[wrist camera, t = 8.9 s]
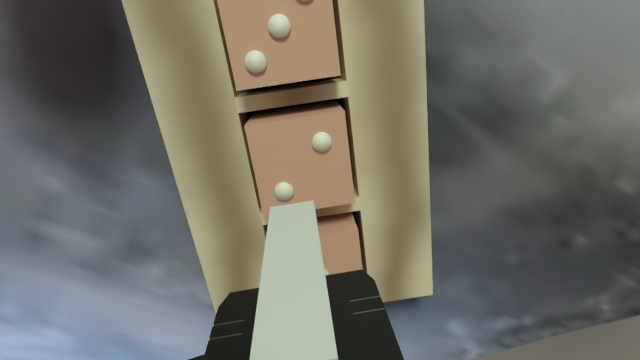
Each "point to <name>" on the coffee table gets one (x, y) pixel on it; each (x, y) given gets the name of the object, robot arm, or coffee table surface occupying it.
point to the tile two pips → (301, 156)
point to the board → (231, 106)
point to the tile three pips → (279, 41)
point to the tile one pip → (339, 243)
